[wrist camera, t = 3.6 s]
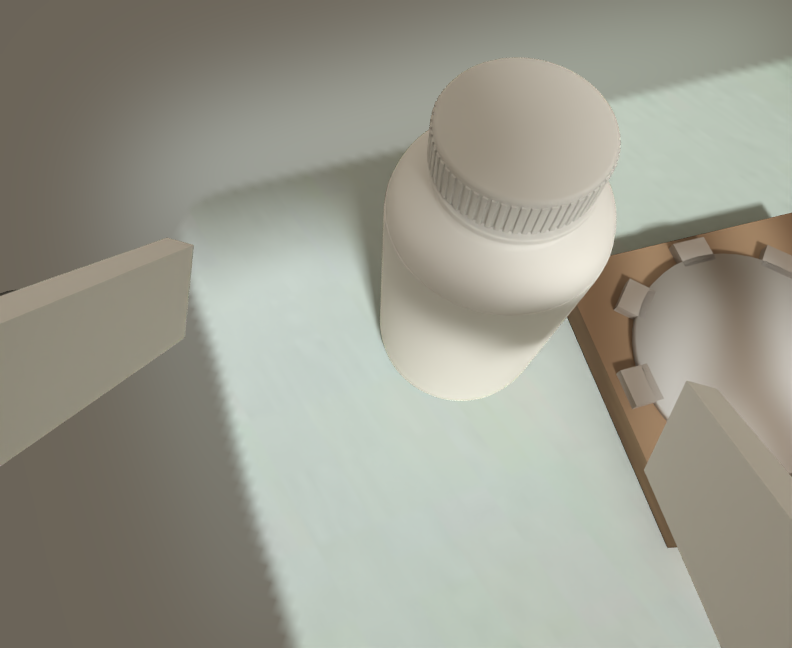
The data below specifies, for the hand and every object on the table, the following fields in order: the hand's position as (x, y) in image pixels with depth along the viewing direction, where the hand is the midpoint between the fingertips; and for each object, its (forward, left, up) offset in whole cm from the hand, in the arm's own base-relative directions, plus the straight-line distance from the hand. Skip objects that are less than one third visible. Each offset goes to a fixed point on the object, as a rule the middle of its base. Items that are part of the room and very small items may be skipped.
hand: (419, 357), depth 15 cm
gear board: (-18, 0, -13) cm, 22 cm away
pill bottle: (-5, -5, -13) cm, 15 cm away
